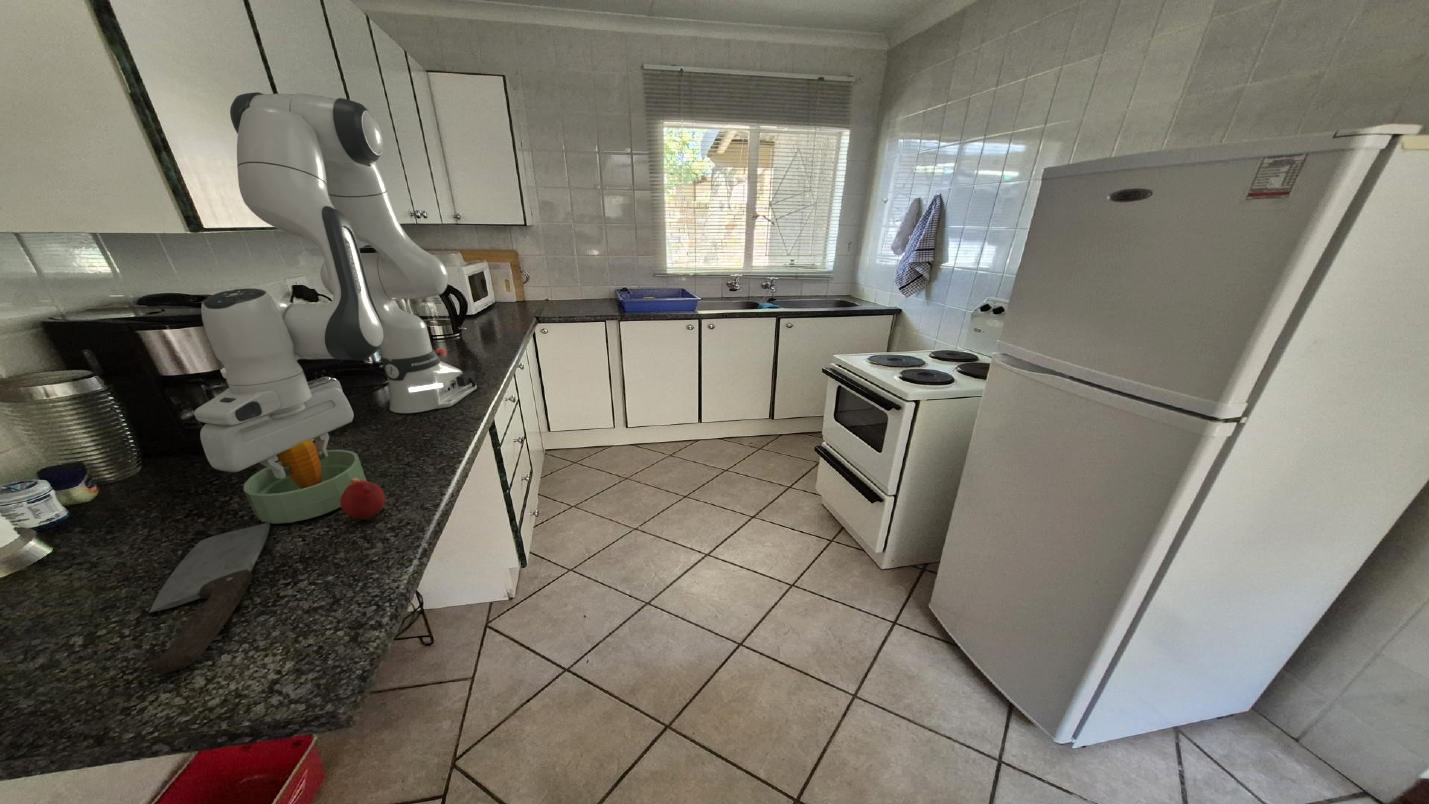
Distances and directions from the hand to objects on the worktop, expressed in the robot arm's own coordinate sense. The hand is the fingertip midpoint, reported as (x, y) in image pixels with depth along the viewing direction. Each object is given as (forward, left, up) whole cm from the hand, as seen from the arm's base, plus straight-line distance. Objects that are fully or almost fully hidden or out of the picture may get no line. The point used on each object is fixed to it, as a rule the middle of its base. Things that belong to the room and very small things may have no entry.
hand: (303, 467), depth 77 cm
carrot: (0, 0, -6) cm, 6 cm away
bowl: (0, 0, -7) cm, 7 cm away
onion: (+2, +14, -7) cm, 16 cm away
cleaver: (+20, +7, -7) cm, 23 cm away
